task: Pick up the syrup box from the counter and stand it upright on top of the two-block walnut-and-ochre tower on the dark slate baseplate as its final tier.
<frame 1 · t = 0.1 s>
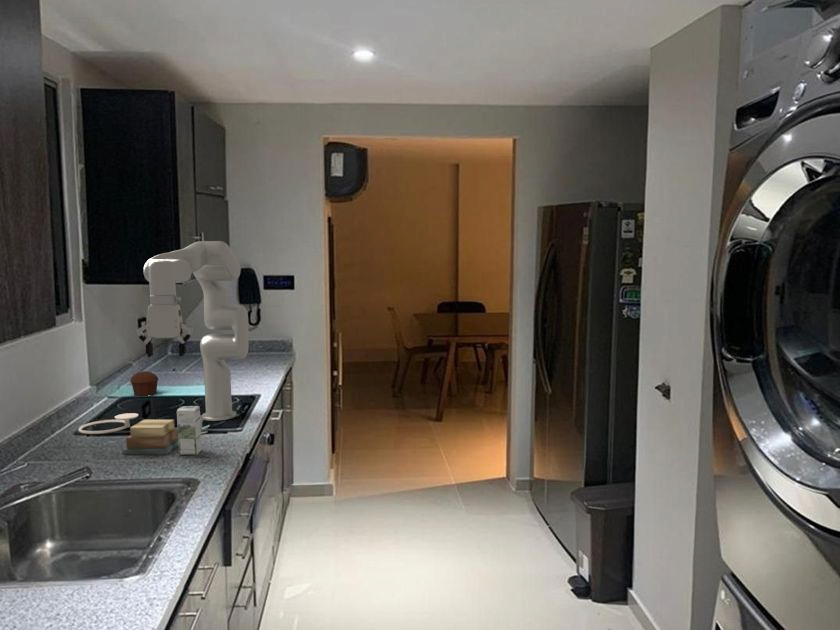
hand: (166, 356, 218), 31 cm above the counter, tool pointing down, fingers open, 9 cm apart
muffin: (145, 395, 307), on the counter
pacifier: (198, 433, 246), on the counter
syrup box: (190, 453, 223), on the counter
tower base: (153, 447, 228), on the counter
hand towel holder: (109, 428, 254), on the counter
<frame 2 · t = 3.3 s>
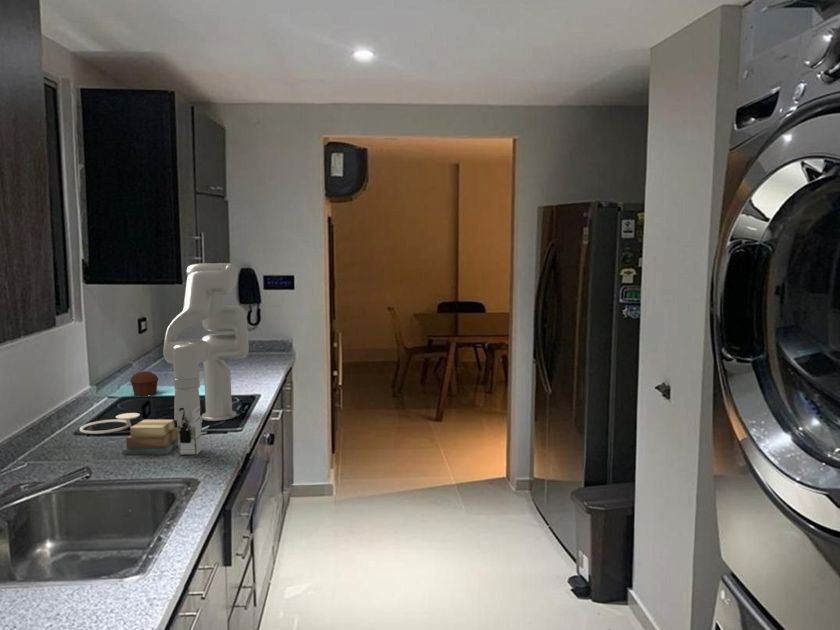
hand: (189, 439, 222), 4 cm above the counter, tool pointing down, fingers closed on syrup box, 6 cm apart
syrup box: (190, 453, 223), on the counter, touching gripper
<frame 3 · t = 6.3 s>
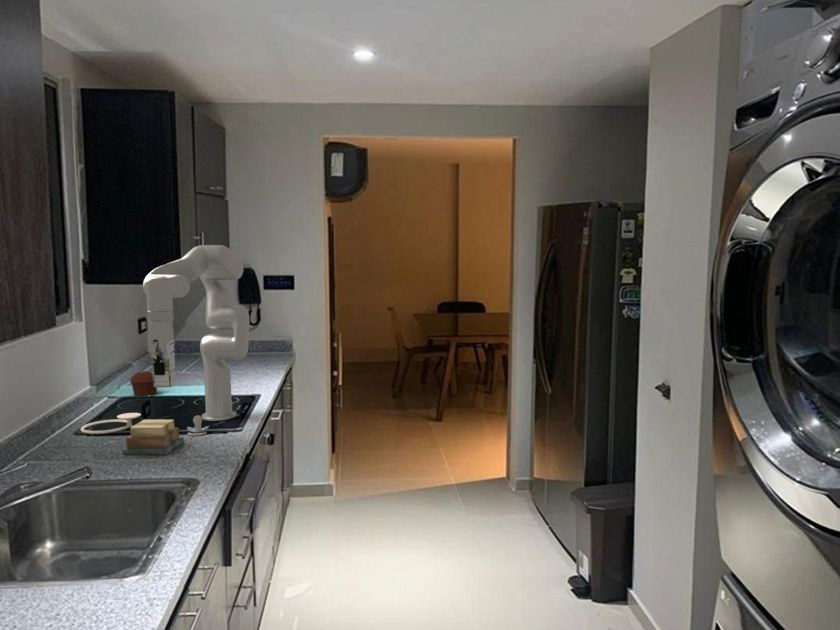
hand: (164, 372, 224), 25 cm above the counter, tool pointing down, fingers closed on syrup box, 6 cm apart
syrup box: (164, 386, 224), point 21 cm above the counter, touching gripper
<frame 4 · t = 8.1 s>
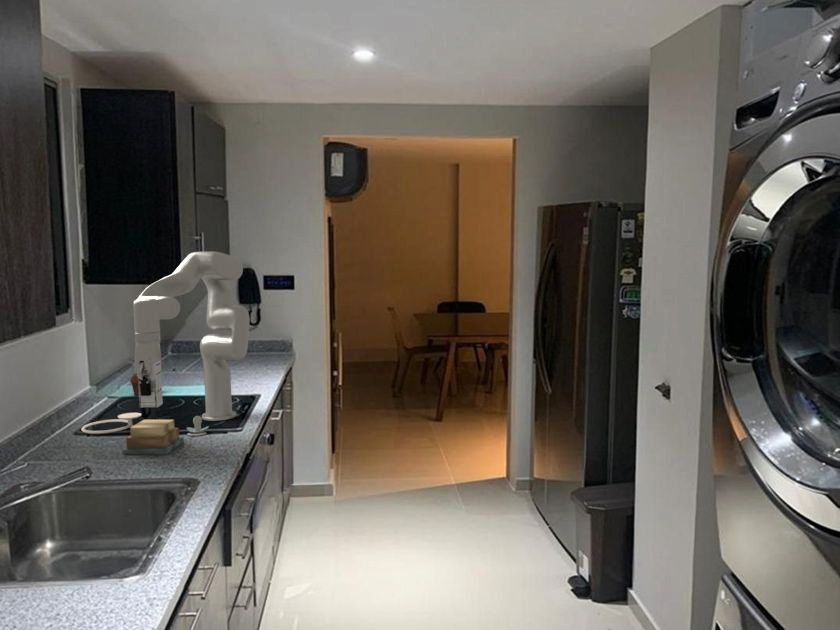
hand: (150, 392, 226), 18 cm above the counter, tool pointing down, fingers closed on syrup box, 6 cm apart
syrup box: (151, 406, 227), point 14 cm above the counter, touching gripper
when the fingers open (14 cm above the counter, at t = 9.4 s): syrup box drops 1 cm, resting on tower base.
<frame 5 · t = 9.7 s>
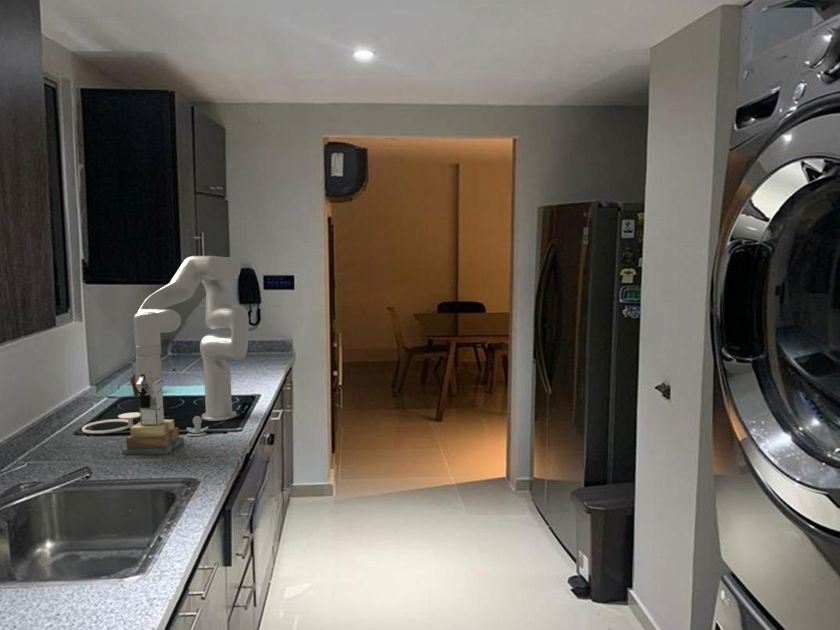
hand: (151, 404, 227), 14 cm above the counter, tool pointing down, fingers open, 8 cm apart
syrup box: (152, 423, 227), point 8 cm above the counter, touching tower base
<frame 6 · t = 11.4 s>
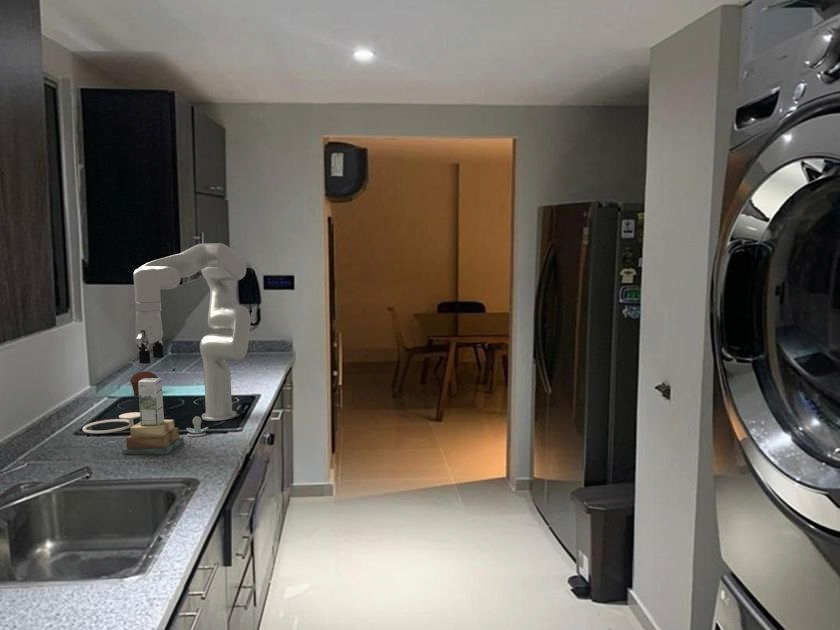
hand: (151, 360, 226), 28 cm above the counter, tool pointing down, fingers open, 9 cm apart
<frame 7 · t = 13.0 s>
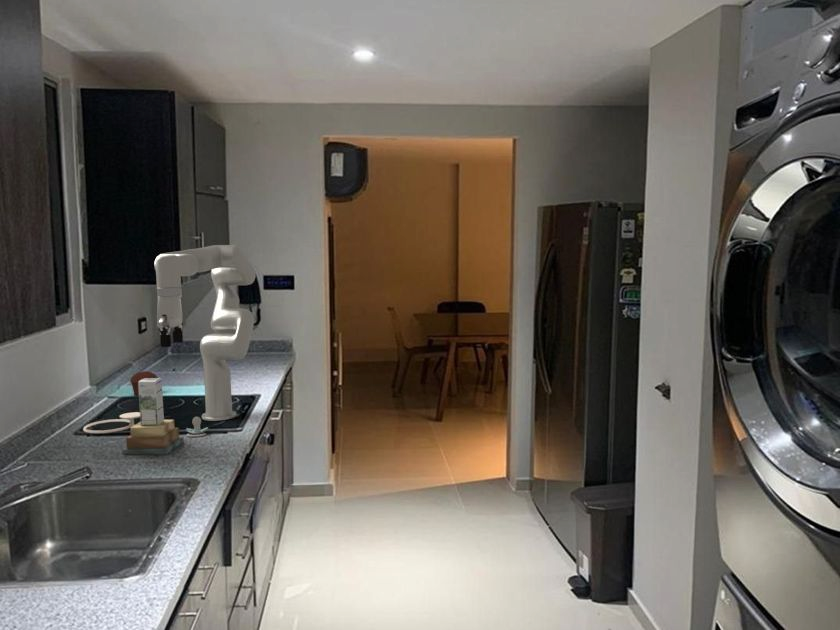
hand: (172, 344, 234), 32 cm above the counter, tool pointing down, fingers open, 9 cm apart
at the end: syrup box 0.1 cm off-centre on the tower base, point 7.8 cm above the tower base's base; syrup box tilted 0°; the gripper is holding nothing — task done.
